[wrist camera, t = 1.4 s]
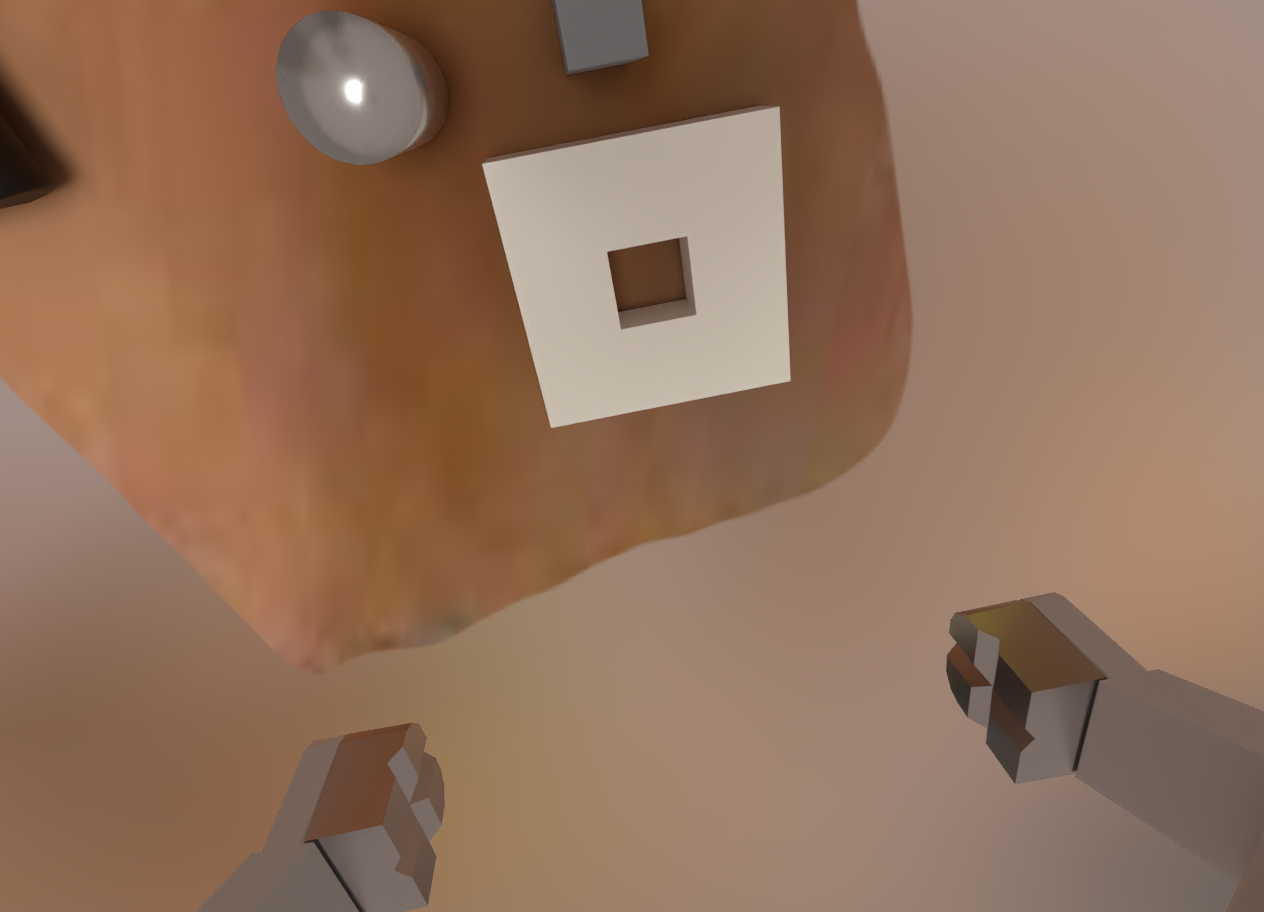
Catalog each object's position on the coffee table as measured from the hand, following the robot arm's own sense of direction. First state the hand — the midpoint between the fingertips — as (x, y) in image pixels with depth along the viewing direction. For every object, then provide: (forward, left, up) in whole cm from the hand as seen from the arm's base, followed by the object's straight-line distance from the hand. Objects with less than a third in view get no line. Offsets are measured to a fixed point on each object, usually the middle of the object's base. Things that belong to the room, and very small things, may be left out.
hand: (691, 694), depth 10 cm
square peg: (-11, +2, -34) cm, 36 cm away
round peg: (-10, -9, -34) cm, 37 cm away
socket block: (+2, +3, -34) cm, 34 cm away
